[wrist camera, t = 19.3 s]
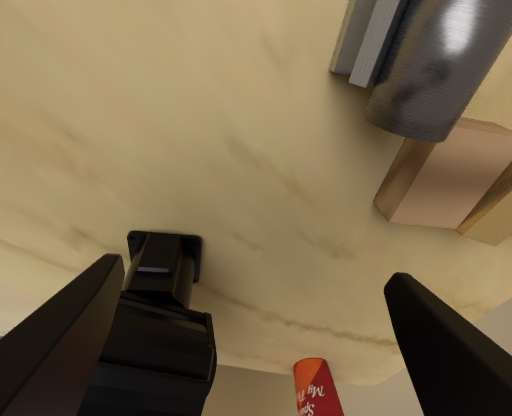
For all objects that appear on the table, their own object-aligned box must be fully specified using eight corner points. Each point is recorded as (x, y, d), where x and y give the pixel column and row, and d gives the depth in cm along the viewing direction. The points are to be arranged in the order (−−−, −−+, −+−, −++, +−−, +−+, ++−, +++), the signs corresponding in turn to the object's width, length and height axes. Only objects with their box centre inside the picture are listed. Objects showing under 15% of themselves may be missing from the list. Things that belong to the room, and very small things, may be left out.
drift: (464, 216, 26) (495, 246, 23) (432, 206, 25) (461, 236, 22) (529, 154, 22) (579, 179, 19) (496, 139, 21) (542, 163, 18)
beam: (539, 218, 27) (569, 239, 24) (373, 200, 24) (388, 222, 22) (617, 143, 22) (663, 160, 20) (420, 110, 19) (447, 125, 17)
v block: (425, 87, 18) (470, 106, 15) (328, 68, 17) (352, 85, 14) (498, -54, 14) (582, -72, 11) (376, -89, 13) (426, -122, 10)
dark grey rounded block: (415, 117, 17) (464, 147, 14) (351, 107, 16) (386, 136, 13) (492, -28, 13) (590, -38, 9) (411, -50, 12) (486, -70, 9)
